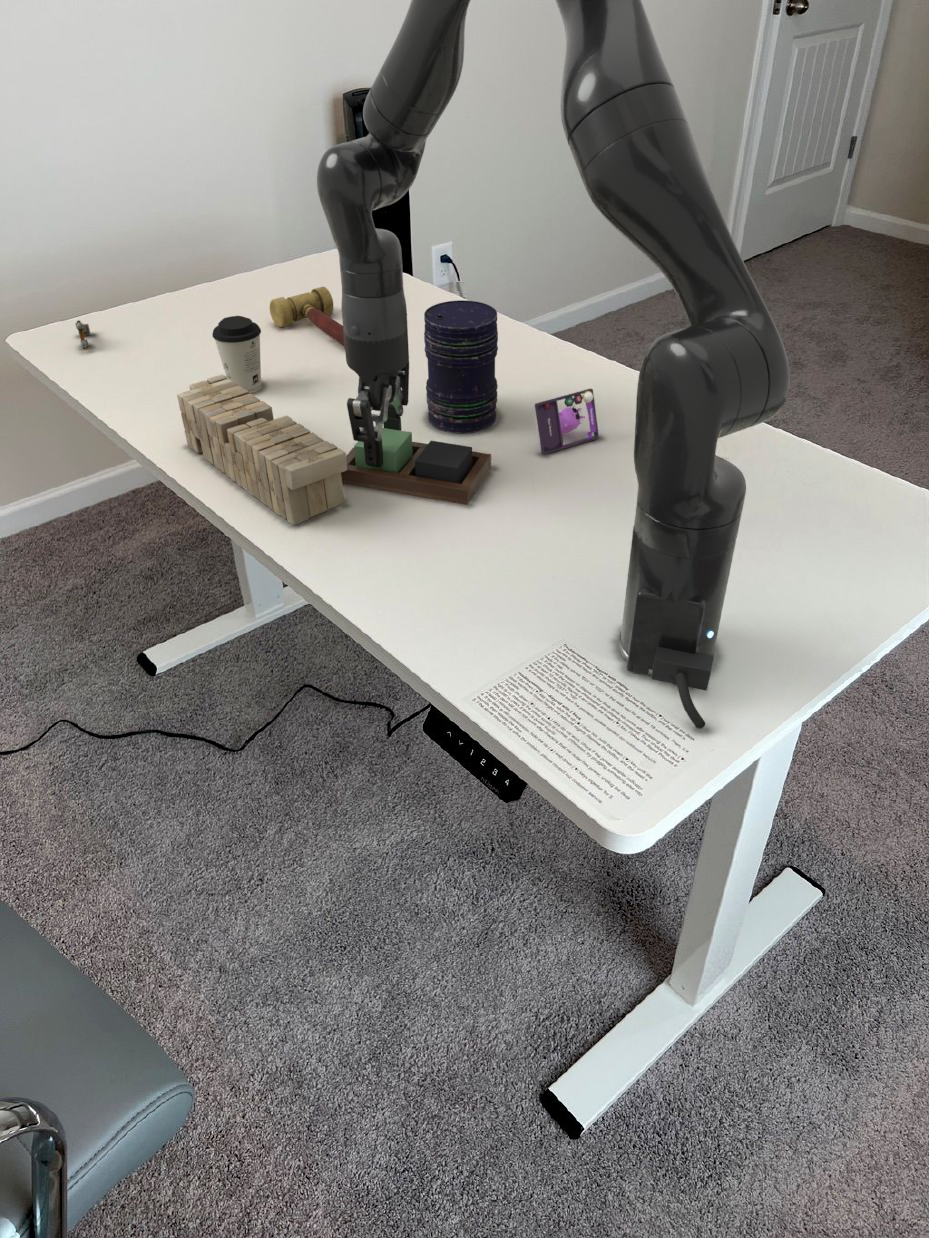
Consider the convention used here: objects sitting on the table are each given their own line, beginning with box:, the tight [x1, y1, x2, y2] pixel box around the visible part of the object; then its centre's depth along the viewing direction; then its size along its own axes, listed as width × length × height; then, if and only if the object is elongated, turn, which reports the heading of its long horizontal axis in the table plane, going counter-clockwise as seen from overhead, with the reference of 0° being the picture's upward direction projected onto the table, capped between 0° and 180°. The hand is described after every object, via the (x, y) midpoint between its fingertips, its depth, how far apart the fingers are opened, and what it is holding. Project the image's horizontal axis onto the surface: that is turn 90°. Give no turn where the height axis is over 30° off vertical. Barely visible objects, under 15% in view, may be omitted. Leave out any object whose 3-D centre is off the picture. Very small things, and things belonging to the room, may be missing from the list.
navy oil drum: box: [423, 299, 499, 435], centre depth 131 cm, size 10×10×15 cm
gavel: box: [269, 286, 345, 347], centre depth 158 cm, size 21×5×10 cm
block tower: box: [176, 374, 347, 526], centre depth 122 cm, size 8×8×29 cm
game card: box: [534, 388, 600, 455], centre depth 129 cm, size 7×5×9 cm
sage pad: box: [353, 425, 413, 473], centre depth 123 cm, size 6×6×3 cm
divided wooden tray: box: [341, 441, 492, 506], centre depth 123 cm, size 9×18×2 cm, turn 71°
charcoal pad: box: [415, 440, 473, 484], centre depth 121 cm, size 6×6×3 cm
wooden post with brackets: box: [75, 320, 91, 351], centre depth 157 cm, size 2×8×4 cm, turn 18°
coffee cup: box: [212, 315, 262, 394], centre depth 141 cm, size 7×7×10 cm
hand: (384, 453), depth 123 cm, fingers closed on sage pad, 5 cm apart
